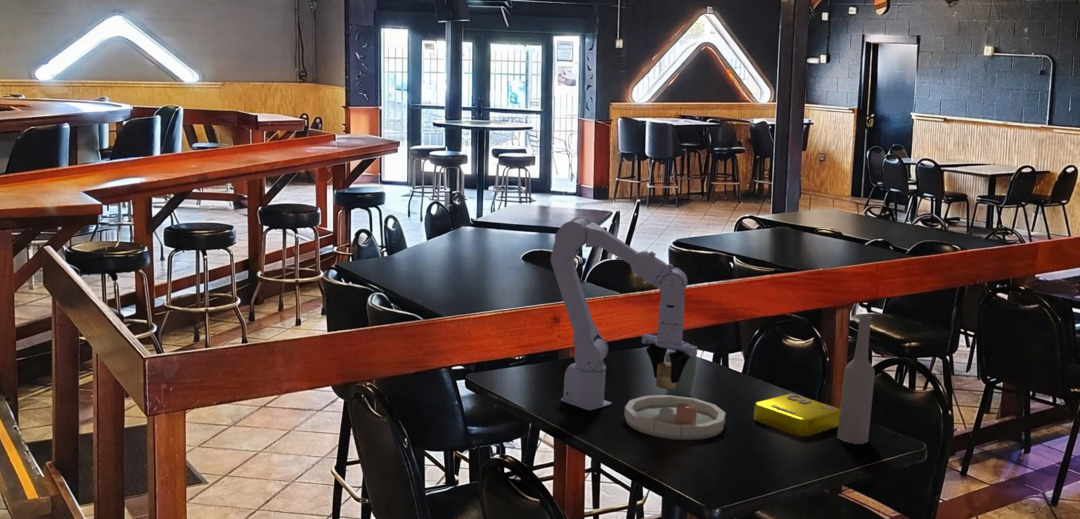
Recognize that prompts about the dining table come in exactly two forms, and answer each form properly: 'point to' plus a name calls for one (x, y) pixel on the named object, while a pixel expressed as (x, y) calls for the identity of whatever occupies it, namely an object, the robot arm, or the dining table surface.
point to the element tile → (796, 414)
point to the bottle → (857, 390)
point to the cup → (684, 377)
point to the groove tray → (673, 417)
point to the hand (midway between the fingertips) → (666, 379)
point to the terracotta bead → (686, 414)
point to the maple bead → (664, 376)
